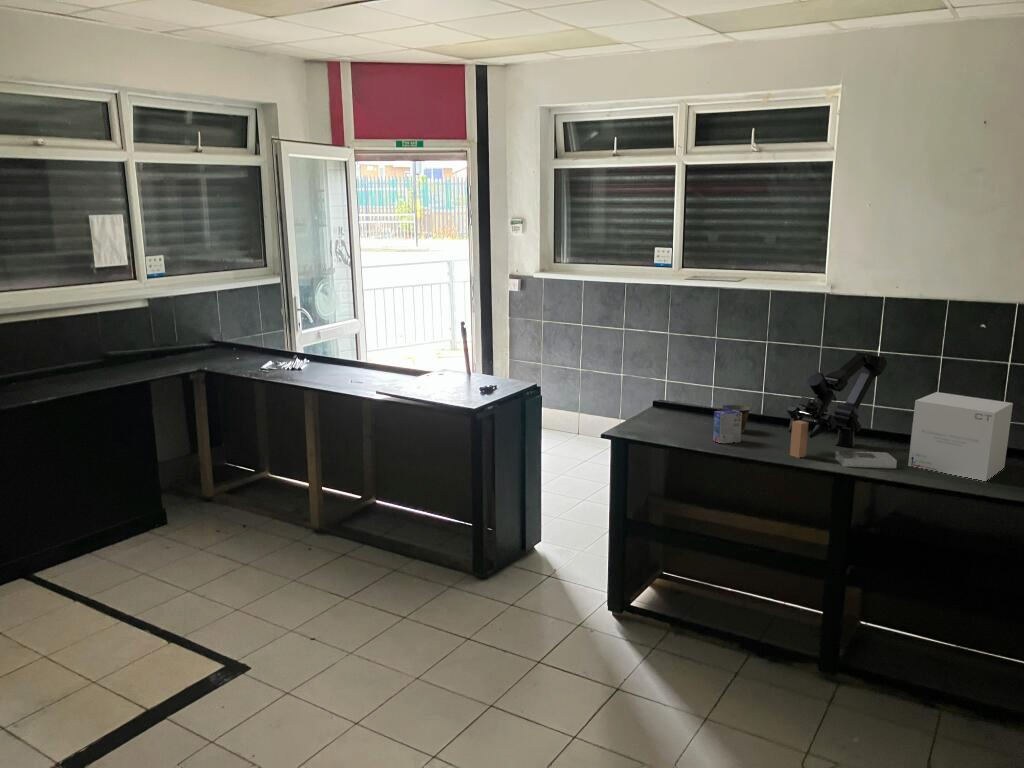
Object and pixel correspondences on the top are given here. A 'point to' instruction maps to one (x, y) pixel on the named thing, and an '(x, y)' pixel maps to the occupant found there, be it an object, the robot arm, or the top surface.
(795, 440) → the square peg
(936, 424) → the white cardboard box
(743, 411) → the ceramic cup
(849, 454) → the grey flat block
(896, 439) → the top surface
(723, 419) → the ink cartridge box
